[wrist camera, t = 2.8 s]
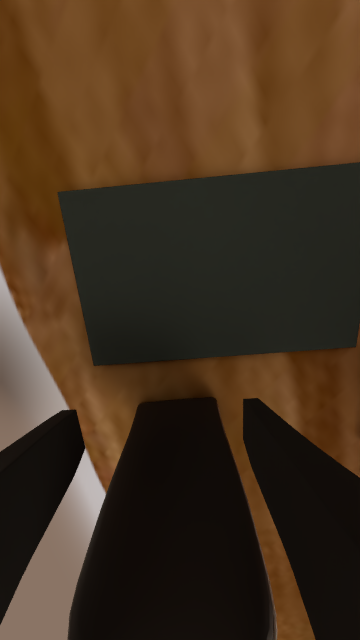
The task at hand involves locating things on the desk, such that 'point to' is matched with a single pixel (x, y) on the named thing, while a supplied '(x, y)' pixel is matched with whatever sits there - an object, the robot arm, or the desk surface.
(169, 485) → the battery charger
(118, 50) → the desk surface
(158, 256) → the mat
